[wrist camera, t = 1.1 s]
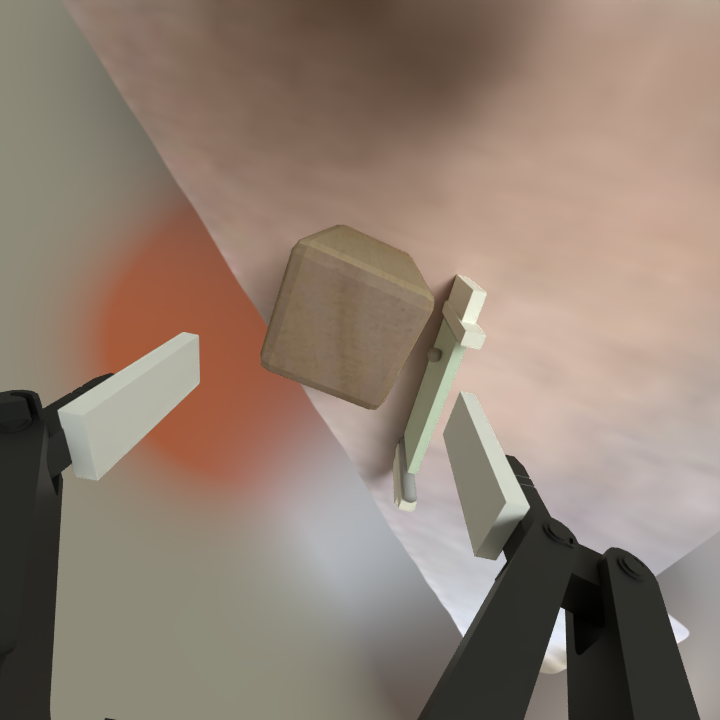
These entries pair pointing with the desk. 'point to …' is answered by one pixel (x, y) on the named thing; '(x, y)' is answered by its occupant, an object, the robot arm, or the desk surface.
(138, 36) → the desk surface
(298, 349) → the wooden block
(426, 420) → the door
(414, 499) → the l-shaped block
